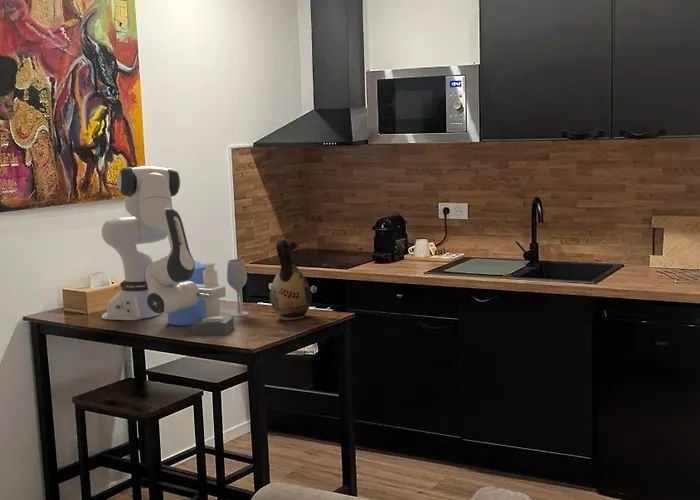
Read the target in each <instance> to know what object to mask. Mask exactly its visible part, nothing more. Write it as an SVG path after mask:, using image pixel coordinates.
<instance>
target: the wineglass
mask: <svg viewBox="0 0 700 500" xmlns="http://www.w3.org/2000/svg"><path fill="white" fill-rule="evenodd" d="M226 268H227V269H226V279H227V283H228V285H229V286H230V287H231V288H232V289H233V290H235V291H236V294H237V295H236V298H237V310H236V311H234V312H231V313H230V314H229V317H244V316H248V315H249V312H248V311H243V310H242V309H241V303H240V291H241V289H242V288H243V287H244V286H245V285H246V284H247V281H248V274H247V273H248V272H247V267H246V262H245V260H244V259H243V258H237V259H236V258H235V259H229V260H228V261H227V266H226Z"/></svg>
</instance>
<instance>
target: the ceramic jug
mask: <svg viewBox="0 0 700 500" xmlns="http://www.w3.org/2000/svg"><path fill="white" fill-rule="evenodd" d="M297 247H298V244H297V243H296V242H295V241H292V240H291V241H289V242H288V241H287V240H286V239H279V240H277V241H276V252H277V258H278V260H279V263H280V268H279V270H278V271H277V272H276V275H275V277H274V279H273V280H272V281H273V282H272V283H271V287H270V291H269V292H270V293H269V301H270V304H271V306H272V308H273V310H275V312H276V313H277V314H278V315H279V317H280V319H281V320H282V321H283V320H284V321H291V320H303V319H305V318H307V316H306V314H307V312H308V310H309V308H310V307H311V305H312V300H313V298H312V297H313V296H312V291H311V287H310V285H309V282H308V280H307V279H306V278H305V276H304V275H303V273H302V272H301V270H300V268H298V267H297V265H296V264H295V263H294V262H293V260H292V252H293V251H294V250H295V249H297Z"/></svg>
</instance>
